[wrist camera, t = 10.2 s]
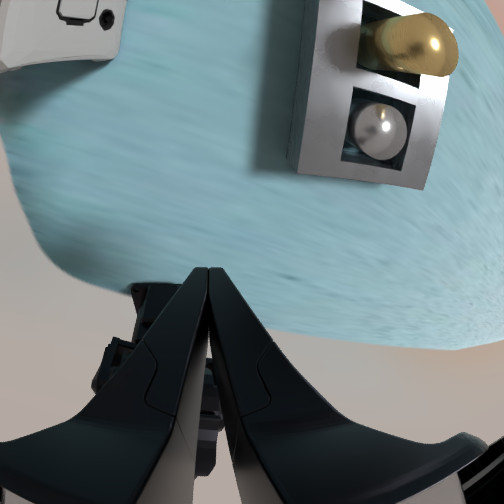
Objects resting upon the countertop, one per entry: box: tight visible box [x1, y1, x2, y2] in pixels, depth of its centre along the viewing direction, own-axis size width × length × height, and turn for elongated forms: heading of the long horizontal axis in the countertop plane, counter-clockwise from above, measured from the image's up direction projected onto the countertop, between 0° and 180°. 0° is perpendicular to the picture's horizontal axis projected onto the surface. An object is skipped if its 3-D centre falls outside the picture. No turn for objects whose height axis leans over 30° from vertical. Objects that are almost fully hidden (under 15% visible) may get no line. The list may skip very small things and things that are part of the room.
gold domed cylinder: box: [357, 13, 458, 77], centre depth 11 cm, size 4×4×7 cm
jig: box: [287, 0, 453, 190], centre depth 14 cm, size 13×10×3 cm
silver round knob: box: [344, 98, 407, 160], centre depth 16 cm, size 4×4×4 cm
